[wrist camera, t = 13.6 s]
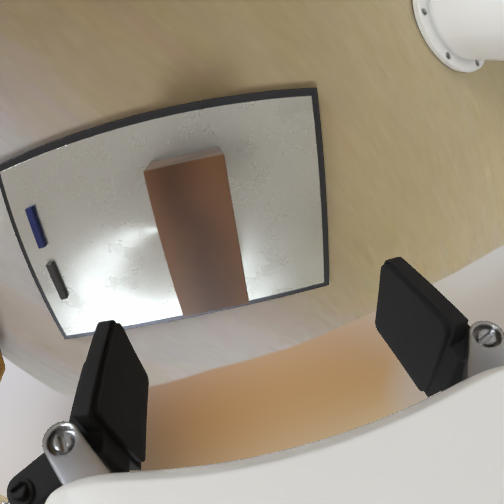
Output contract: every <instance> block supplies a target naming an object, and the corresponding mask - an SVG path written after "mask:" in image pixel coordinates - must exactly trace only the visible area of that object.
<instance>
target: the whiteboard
mask: <svg viewBox="0 0 504 504" xmlns="http://www.w3.org/2000/svg"><path fill="white" fill-rule="evenodd" d="M216 146H217V147H218V148H219V149H220V150H221V152H222V153H223V154H224V156H225V162H226V168H227V174H228V180H229V186H230V192H231V198H232V204H233V210H234V216H235V222H236V228H237V234H238V240H239V245H240V251H241V257H242V263H243V269H244V274H245V280H246V286H247V292H248V297H249V303H247V304H243V305H238V306H234V307H229V308H225V309H220V310H215V311H211V312H206V313H201V314H196V315H191V316H187V317H184V316H183V314H182V311H181V308H180V304H179V301H178V298H177V295H176V292H175V289H174V285H173V282H172V279H171V276H170V272H169V269H168V265H167V262H166V259H165V255H164V252H163V248H162V244H161V241H160V237H159V234H158V230H157V226H156V222H155V219H154V215H153V211H152V207H151V203H150V199H149V195H148V191H147V186H146V182H145V178H144V174H143V172H144V170H145V169H146V167H147V166H148V164H149V163H150V162H151V160H154V159H159V158H163V157H167V156H172V155H176V154H181V153H185V152H190V151H195V150H200V149H205V148H210V147H216ZM0 188H1V192H2V195H3V198H4V202H5V205H6V208H7V211H8V214H9V217H10V220H11V223H12V226H13V229H14V231H15V234H16V237H17V239H18V242H19V245H20V247H21V250H22V252H23V255H24V257H25V260H26V262H27V264H28V267H29V269H30V271H31V274H32V276H33V278H34V280H35V282H36V285H37V287H38V289H39V291H40V293H41V295H42V297H43V299H44V301H45V303H46V305H47V307H48V309H49V311H50V313H51V315H52V317H53V319H54V321H55V322H56V324H57V326H58V328H59V330H60V332H61V333H62V335H63V337H64V339H71V338H77V337H84V336H90V335H94V333H95V329H96V326H97V324H98V322H101V321H107V320H115V321H116V323H120V324H121V325H122V327H123V329H124V330H125V329H131V328H137V327H142V326H147V325H153V324H158V323H163V322H168V321H174V320H179V319H184V318H189V317H193V316H198V315H203V314H208V313H213V312H217V311H222V310H226V309H231V308H236V307H240V306H244V305H249V304H253V303H258V302H262V301H266V300H270V299H275V298H279V297H283V296H287V295H291V294H295V293H299V292H303V291H307V290H311V289H315V288H319V287H323V286H327V285H329V254H328V223H327V202H326V185H325V170H324V156H323V144H322V133H321V123H320V113H319V104H318V95H317V88H302V89H288V90H277V91H267V92H257V93H249V94H242V95H234V96H227V97H221V98H215V99H209V100H203V101H198V102H192V103H187V104H182V105H177V106H173V107H168V108H164V109H159V110H155V111H151V112H147V113H143V114H139V115H135V116H131V117H128V118H124V119H120V120H117V121H113V122H110V123H107V124H103V125H100V126H97V127H94V128H91V129H87V130H84V131H81V132H78V133H76V134H73V135H70V136H67V137H64V138H61V139H59V140H56V141H53V142H51V143H48V144H46V145H43V146H41V147H38V148H36V149H33V150H31V151H28V152H26V153H24V154H21V155H19V156H17V157H14V158H12V159H10V160H8V161H6V162H3V163H1V164H0ZM31 206H33V207H34V210H35V213H36V216H37V219H38V222H39V225H40V228H41V231H42V234H43V236H44V239H45V242H46V244H47V245H46V247H44V248H41V249H39V248H38V245H37V243H36V240H35V237H34V235H33V232H32V229H31V226H30V224H29V221H28V218H27V215H26V212H25V209H26V208H28V207H31ZM50 262H54V264H55V267H56V269H57V272H58V274H59V276H60V279H61V281H62V283H63V285H64V288H65V290H66V292H67V294H68V298H67V299H63V300H61V299H60V297H59V294H58V292H57V290H56V288H55V286H54V284H53V281H52V279H51V277H50V275H49V272H48V270H47V268H46V264H47V263H50Z"/></svg>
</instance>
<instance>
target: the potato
mask: <svg viewBox="0 0 504 504" xmlns="http://www.w3.org/2000/svg"><path fill="white" fill-rule="evenodd" d="M4 371H5V364H4V361H3V357H2V354H1V350H0V381H1V379H2V376H3V373H4Z"/></svg>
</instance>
